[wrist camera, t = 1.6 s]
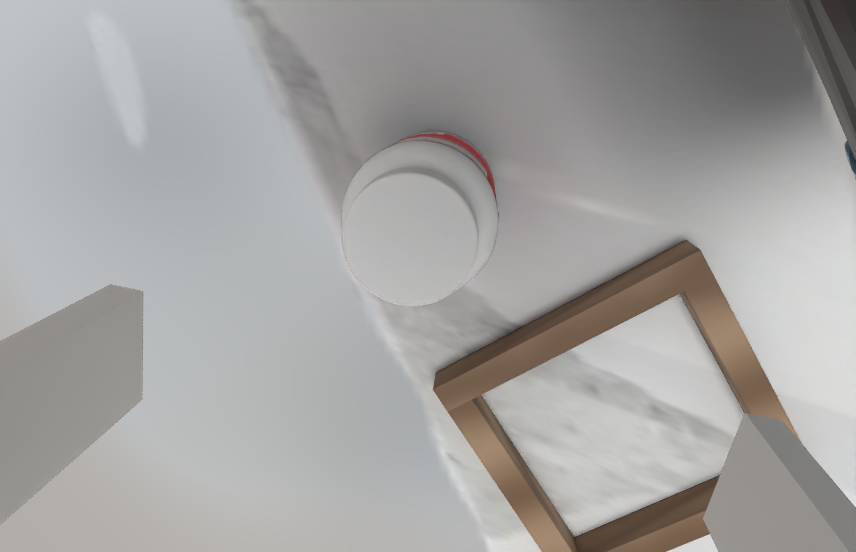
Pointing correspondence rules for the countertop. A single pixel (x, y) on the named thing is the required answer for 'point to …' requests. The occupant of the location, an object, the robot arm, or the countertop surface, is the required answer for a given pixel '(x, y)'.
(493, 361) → the brown wooden square frame
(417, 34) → the countertop surface
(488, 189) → the pill bottle
